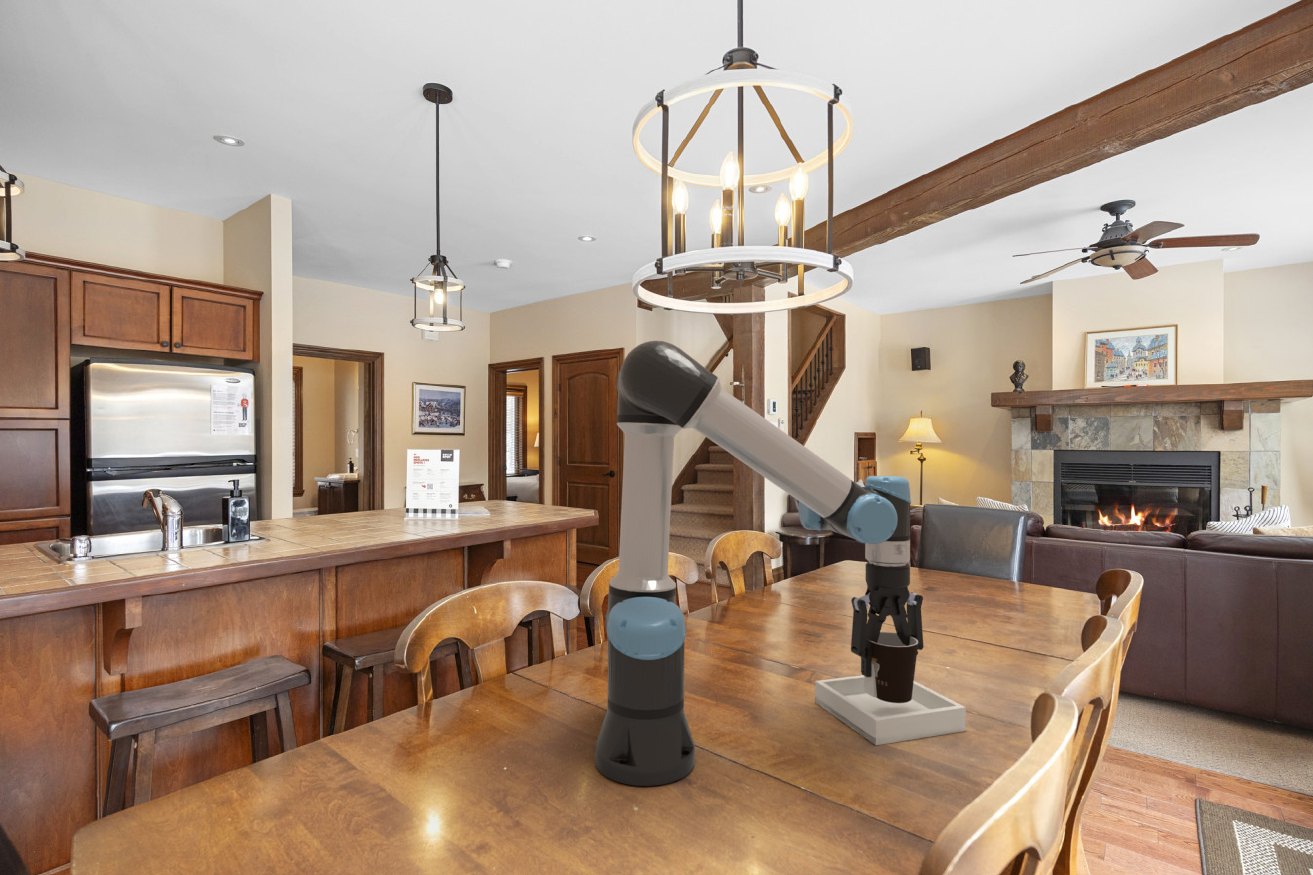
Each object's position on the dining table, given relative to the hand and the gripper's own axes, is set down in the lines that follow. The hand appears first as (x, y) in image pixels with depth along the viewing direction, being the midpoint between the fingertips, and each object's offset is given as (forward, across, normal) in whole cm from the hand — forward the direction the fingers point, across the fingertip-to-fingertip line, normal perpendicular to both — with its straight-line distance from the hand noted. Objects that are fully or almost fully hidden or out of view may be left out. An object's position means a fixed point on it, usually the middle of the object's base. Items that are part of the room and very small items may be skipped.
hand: (887, 691), depth 115 cm
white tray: (+4, 0, 0) cm, 4 cm away
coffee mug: (0, +1, 0) cm, 1 cm away
